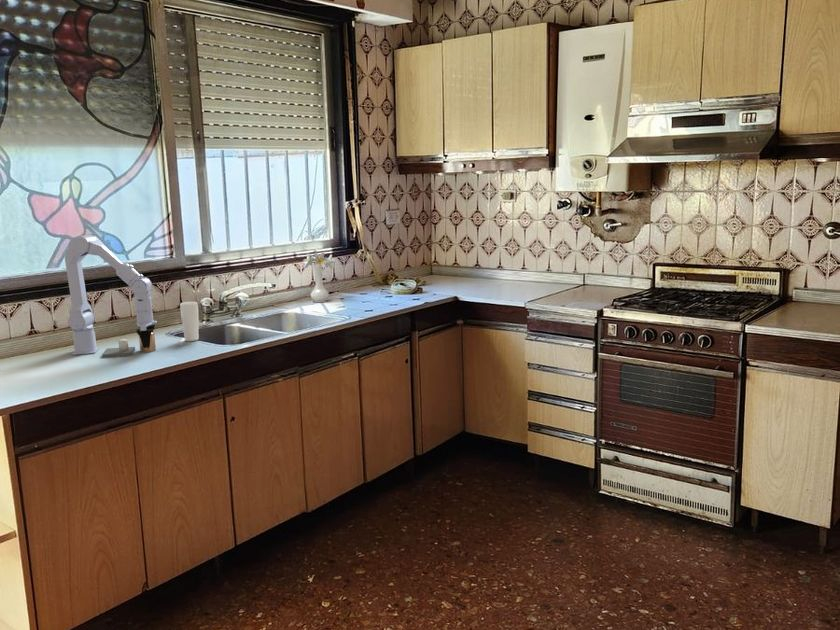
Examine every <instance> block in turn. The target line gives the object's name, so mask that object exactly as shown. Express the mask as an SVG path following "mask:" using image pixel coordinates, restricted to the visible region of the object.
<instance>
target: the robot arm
mask: <svg viewBox="0 0 840 630" xmlns="http://www.w3.org/2000/svg"><path fill="white" fill-rule="evenodd" d="M88 255H90V256H91V255H92V256H98V257H99V258H100V259H102V260H103V261H105V262H106V263H107V264H109V266H111V267H112V268H113V269H115V272H116V275H117V276H118V277H119V279H121V280H122V281H123V282H125V284H127V285H128V287H130V290H131V292H132V293H133V295H134V304H135V314H136V325H137V326H138V328H139V329H136V330H135V331H136V334H138V338H139V337H140V339H141V342H142V345H143V347H144V348H149V347H150V338H151V333H152V332H154V330H155V327H156V324H157V322H158V320H154V313H153V305H152V303H153V301H152V295H151V294H152V293H151V290H152V288H153V283H152V281H151V280H150V278H148V277H147V276H146V277H145V276H144V275H143V274H142V273H139V272H138V271H137V270H136V269H135V268H134V265H133V264H129V263H125V262H124V263H123V262H122V261H121V260H120V259H119V258H118V257H117V256H116V255H115V254H114V253H113V252H112V251H111V250H110V249H109V248H108V247H106V245H105V244H104V243H103V242H102V240H101V239H98V238H97V237H96V236H95V235H93V234H91V233H90V234H85V235H79V236H76V237H73V238H72V240H70V241H69V242H68V247H67V250H66V253H65V255H64V262H65V263H64V264H65V267H66V269H65V270H66V275H67V282H68V288H69V294H70V295H69V296H70V301H71V305H70V309H69V311H68V313H69V316H68V319H67V323H68V326H69V327H70V328H71V331H72V338H73V348H74V351H73V352H72V353H71V355H73V356H75V355H87V354H88V355H89V354H95V353H96V352H97V351H98V350H99V349H100V346H97V340H96V332H95V330H94V325H93V324H94V323H95V321H96V315H95V314H94V312H93V310H92V306H91V304H89V302H88V296H87V291H86V283H85V277H84V270H83V264H82V261H83V260H84V258H86V257H87V256H88Z"/></svg>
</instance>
